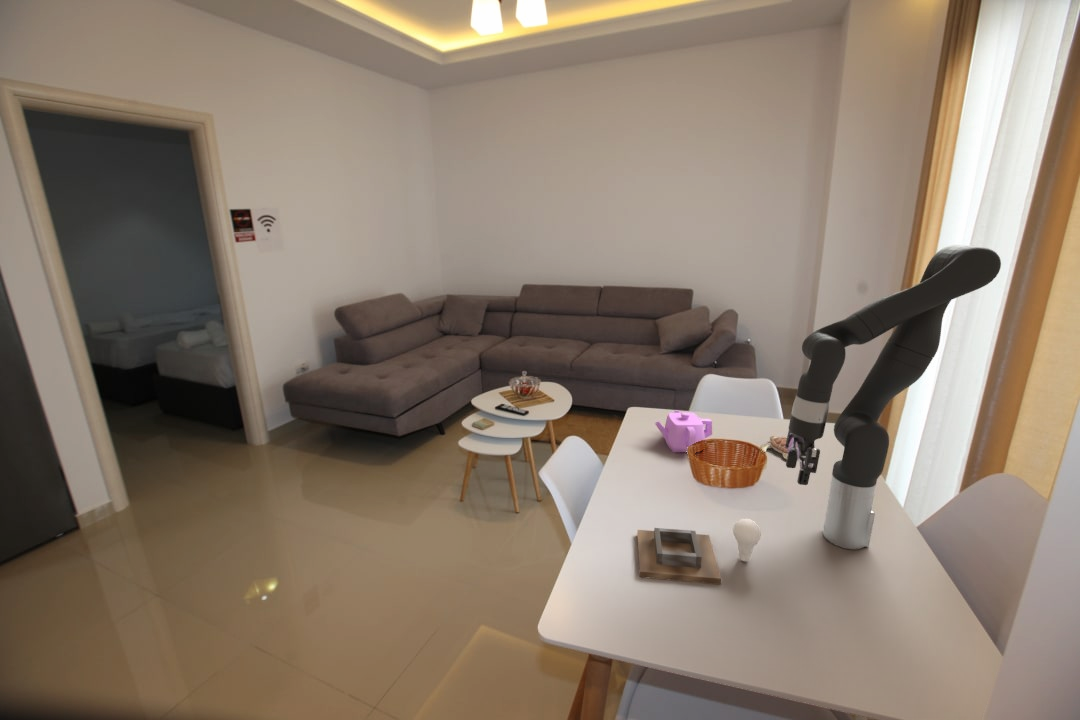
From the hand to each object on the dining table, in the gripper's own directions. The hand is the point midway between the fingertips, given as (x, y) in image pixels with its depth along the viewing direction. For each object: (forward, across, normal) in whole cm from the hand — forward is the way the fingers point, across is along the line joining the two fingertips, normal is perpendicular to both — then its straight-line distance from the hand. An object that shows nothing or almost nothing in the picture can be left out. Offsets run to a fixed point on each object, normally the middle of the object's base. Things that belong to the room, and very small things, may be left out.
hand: (796, 475), depth 121 cm
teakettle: (+19, +52, +20) cm, 59 cm away
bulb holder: (+19, -13, +28) cm, 37 cm away
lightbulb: (+18, -12, +12) cm, 25 cm away
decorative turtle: (+17, +50, -15) cm, 55 cm away
